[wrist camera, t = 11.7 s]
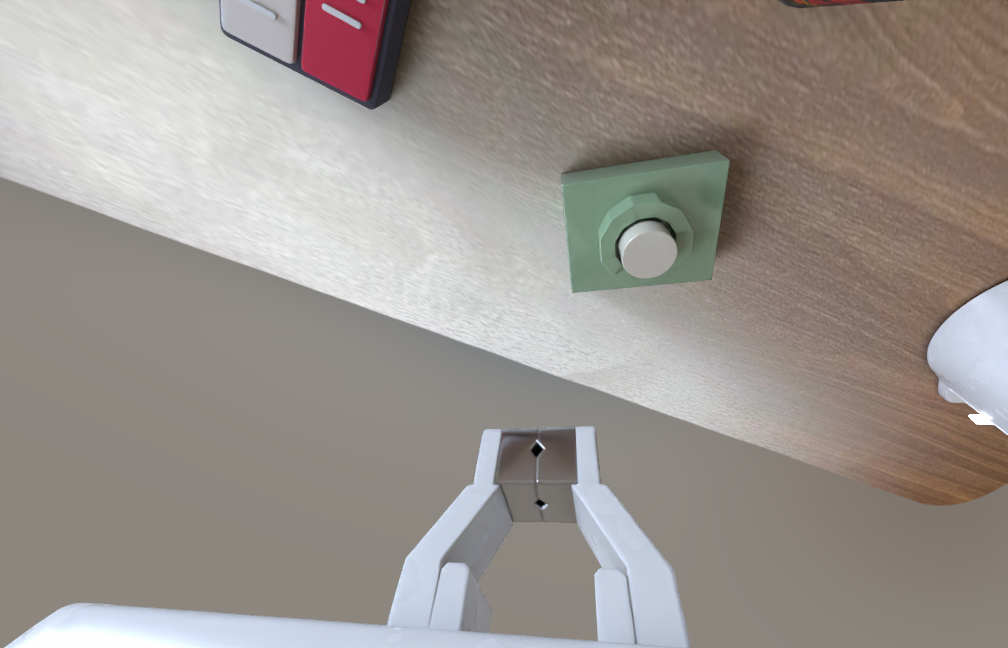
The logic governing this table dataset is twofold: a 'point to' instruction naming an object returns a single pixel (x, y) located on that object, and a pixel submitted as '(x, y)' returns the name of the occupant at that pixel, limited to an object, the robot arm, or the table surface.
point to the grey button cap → (647, 249)
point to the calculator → (325, 40)
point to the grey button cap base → (644, 217)
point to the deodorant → (826, 2)
